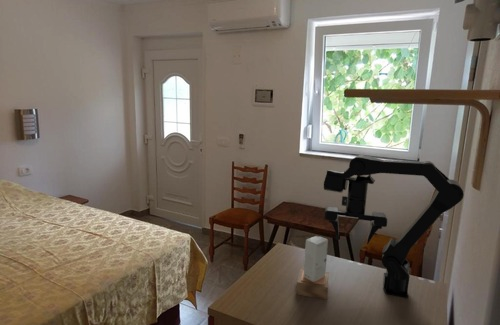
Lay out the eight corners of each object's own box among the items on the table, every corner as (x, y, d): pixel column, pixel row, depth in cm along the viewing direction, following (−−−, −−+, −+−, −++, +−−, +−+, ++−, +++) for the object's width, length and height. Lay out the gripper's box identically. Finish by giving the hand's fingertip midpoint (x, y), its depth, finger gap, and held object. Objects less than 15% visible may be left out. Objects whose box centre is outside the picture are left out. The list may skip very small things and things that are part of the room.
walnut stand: (328, 283, 106) (329, 271, 106) (326, 299, 98) (327, 286, 97) (299, 279, 109) (300, 267, 108) (296, 294, 100) (297, 281, 99)
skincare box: (314, 282, 99) (317, 244, 97) (302, 276, 102) (304, 239, 100) (326, 275, 103) (329, 239, 101) (314, 270, 106) (316, 234, 104)
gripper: (385, 191, 110) (380, 235, 113) (327, 185, 115) (324, 228, 118) (390, 201, 100) (384, 249, 103) (326, 194, 104) (322, 241, 107)
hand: (352, 241), depth 108 cm, fingers open, 9 cm apart
